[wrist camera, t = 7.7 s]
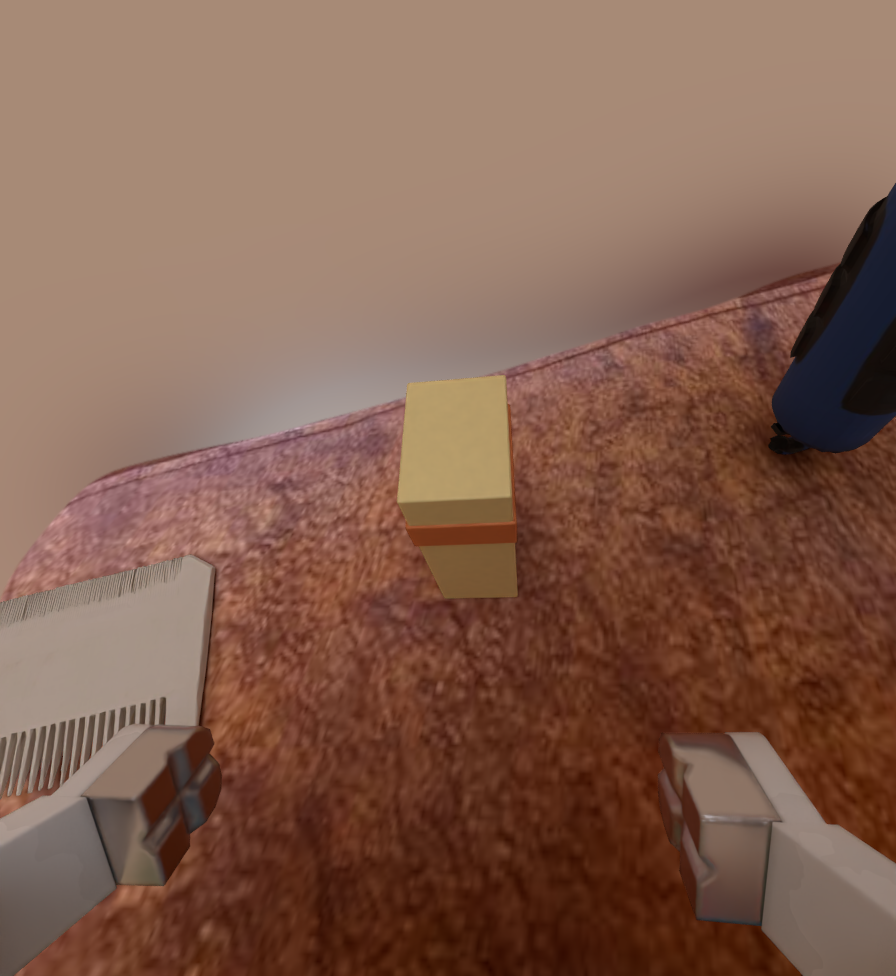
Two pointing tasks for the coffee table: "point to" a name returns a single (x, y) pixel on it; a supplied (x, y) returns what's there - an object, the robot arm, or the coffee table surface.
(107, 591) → the grooming comb
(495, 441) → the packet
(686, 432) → the coffee table surface
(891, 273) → the flashlight
